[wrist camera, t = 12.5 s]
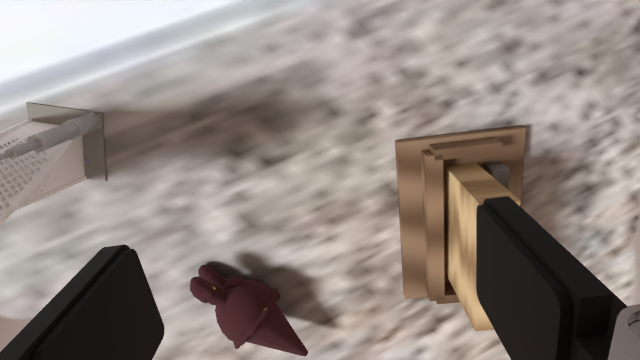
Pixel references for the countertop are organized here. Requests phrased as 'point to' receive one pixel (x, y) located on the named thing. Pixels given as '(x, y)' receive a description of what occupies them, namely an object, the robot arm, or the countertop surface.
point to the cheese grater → (49, 154)
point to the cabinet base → (429, 197)
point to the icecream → (246, 311)
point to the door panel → (467, 232)
